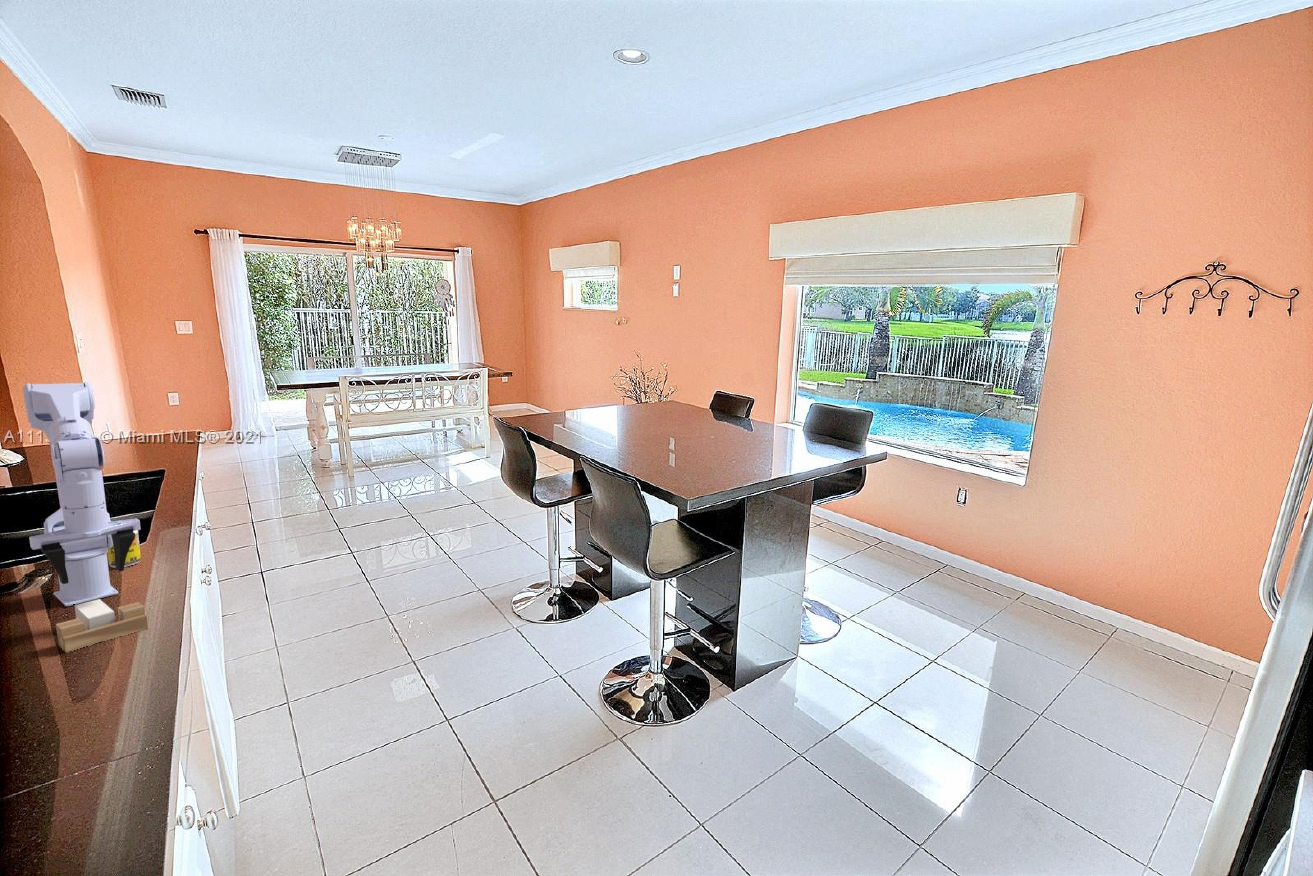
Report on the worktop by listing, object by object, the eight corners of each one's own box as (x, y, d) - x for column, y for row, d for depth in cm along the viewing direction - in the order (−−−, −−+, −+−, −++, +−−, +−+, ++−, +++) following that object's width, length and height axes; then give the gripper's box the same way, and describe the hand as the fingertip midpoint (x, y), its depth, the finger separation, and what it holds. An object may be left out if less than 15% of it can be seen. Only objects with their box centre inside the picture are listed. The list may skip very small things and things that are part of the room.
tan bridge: (58, 645, 103) (55, 624, 103) (140, 621, 113) (138, 602, 112) (65, 653, 101) (62, 631, 101) (148, 628, 110) (146, 608, 110)
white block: (77, 625, 111) (74, 605, 110) (102, 618, 113) (99, 599, 113) (91, 639, 106) (88, 618, 105) (116, 632, 109) (114, 611, 108)
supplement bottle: (107, 570, 135) (102, 527, 134) (112, 562, 140) (107, 520, 138) (139, 566, 138) (134, 524, 137) (143, 558, 143) (138, 517, 141)
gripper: (32, 518, 100) (43, 594, 102) (142, 500, 111) (150, 569, 114) (22, 510, 103) (33, 583, 106) (130, 494, 115) (137, 560, 118)
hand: (93, 575), depth 110 cm, fingers open, 7 cm apart
